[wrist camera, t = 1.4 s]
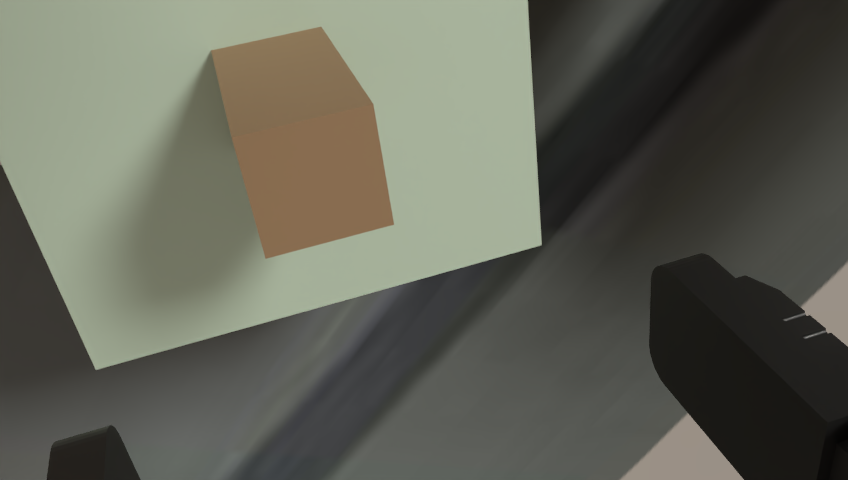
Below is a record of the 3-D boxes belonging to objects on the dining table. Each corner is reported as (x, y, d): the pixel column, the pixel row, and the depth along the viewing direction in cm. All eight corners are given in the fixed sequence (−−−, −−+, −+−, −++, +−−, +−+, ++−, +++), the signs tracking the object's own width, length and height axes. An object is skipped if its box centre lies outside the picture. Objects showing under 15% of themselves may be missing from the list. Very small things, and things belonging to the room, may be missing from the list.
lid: (-137, -164, 18) (-266, -129, 12) (500, -264, 20) (635, -274, 15) (97, 354, 26) (84, 518, 20) (532, 234, 29) (627, 349, 23)
